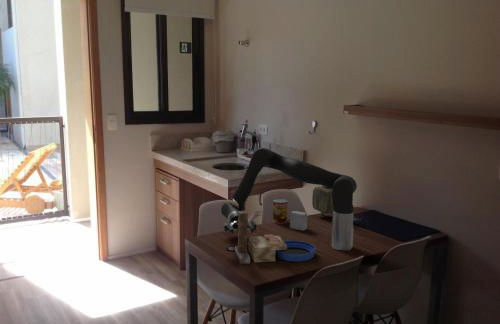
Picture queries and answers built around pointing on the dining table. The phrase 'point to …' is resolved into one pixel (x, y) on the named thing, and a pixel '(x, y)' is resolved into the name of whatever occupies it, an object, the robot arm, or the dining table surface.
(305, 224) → the medicine box
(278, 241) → the tile
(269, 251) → the beige square open box
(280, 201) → the canned food
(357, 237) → the dining table surface
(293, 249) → the bowl
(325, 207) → the tabletop clock
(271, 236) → the tile
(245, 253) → the scraper
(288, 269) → the dining table surface
